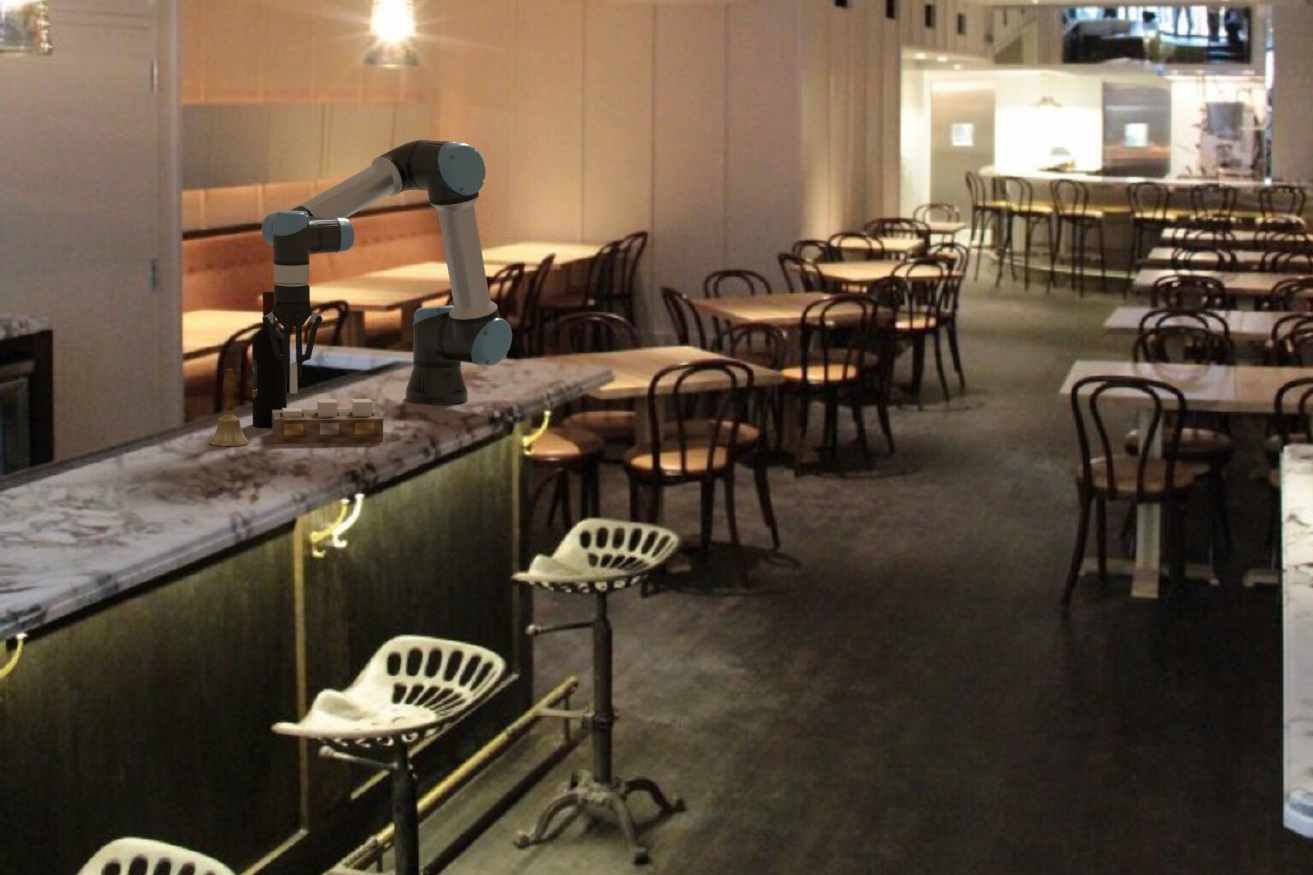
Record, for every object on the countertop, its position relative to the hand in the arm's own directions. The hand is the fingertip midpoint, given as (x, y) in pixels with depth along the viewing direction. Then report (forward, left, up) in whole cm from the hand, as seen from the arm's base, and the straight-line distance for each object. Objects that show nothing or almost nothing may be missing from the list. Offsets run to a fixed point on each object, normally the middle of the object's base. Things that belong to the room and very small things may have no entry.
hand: (293, 392), depth 391 cm
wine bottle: (+4, -14, -10) cm, 18 cm away
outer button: (0, 0, -9) cm, 9 cm away
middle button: (-7, 0, -7) cm, 10 cm away
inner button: (-15, 0, -7) cm, 16 cm away
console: (-7, 0, -10) cm, 12 cm away
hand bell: (+14, +5, -10) cm, 18 cm away
